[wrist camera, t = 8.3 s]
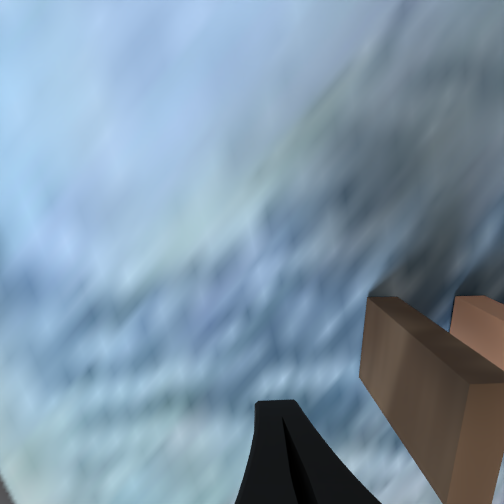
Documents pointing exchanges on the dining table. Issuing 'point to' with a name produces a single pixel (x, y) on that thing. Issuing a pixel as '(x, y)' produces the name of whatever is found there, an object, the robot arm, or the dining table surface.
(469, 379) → the domino
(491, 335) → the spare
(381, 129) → the dining table surface
